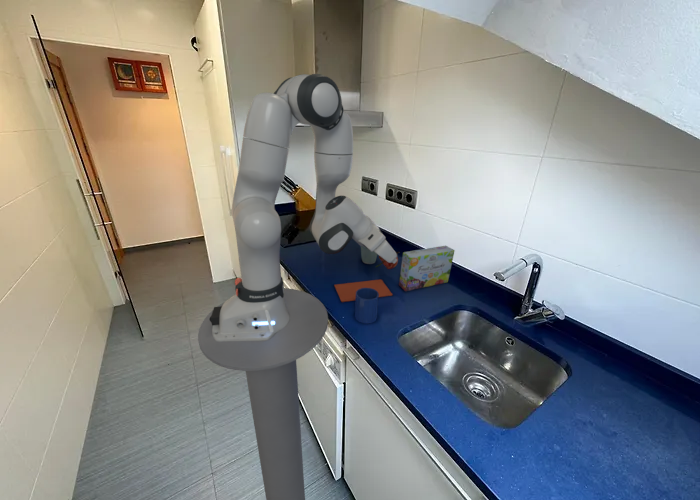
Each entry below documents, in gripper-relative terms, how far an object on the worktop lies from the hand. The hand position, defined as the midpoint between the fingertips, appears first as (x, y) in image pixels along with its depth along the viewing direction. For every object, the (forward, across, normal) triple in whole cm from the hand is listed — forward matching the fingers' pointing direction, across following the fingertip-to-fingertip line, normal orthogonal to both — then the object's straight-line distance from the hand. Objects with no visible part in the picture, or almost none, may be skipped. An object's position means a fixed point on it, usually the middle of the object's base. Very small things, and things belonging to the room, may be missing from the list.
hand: (389, 256), depth 102 cm
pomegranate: (+3, 0, -4) cm, 5 cm away
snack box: (+24, -2, +2) cm, 25 cm away
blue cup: (+3, +10, -20) cm, 23 cm away
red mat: (+6, -5, -16) cm, 18 cm away
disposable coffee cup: (+15, -28, -8) cm, 33 cm away
